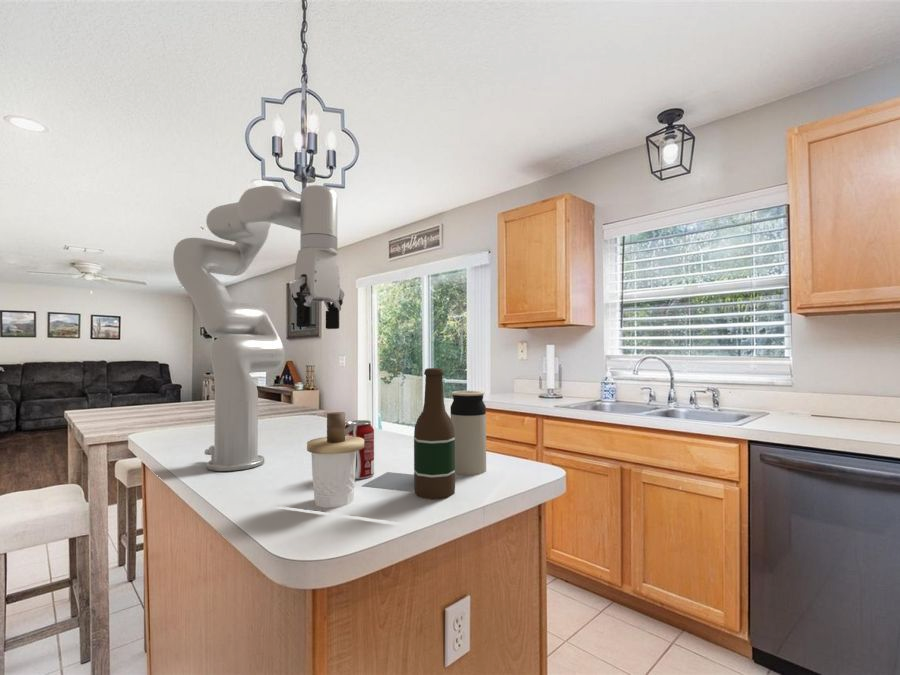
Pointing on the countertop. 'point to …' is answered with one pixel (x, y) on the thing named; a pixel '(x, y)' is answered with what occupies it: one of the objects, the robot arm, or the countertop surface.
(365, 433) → the soda can
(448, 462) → the beer bottle
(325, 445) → the lid
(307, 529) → the countertop surface
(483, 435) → the travel mug
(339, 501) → the white cup
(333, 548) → the countertop surface
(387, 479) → the mat
